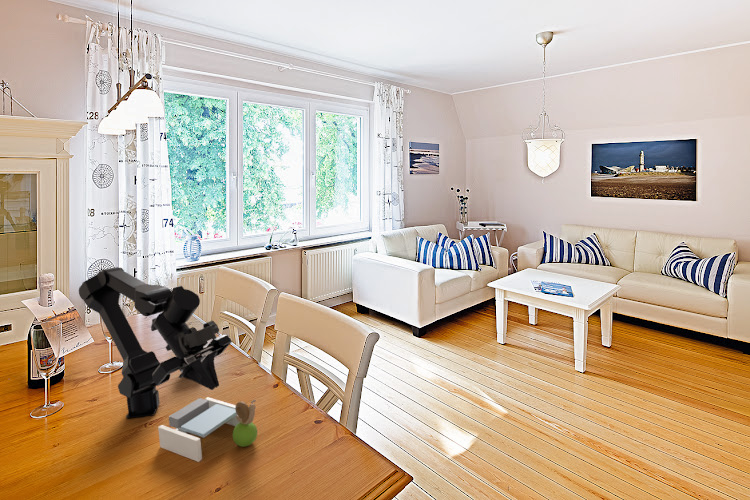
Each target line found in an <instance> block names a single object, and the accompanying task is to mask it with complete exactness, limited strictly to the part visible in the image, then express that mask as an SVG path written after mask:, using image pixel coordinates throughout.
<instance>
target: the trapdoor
mask: <svg viewBox="0 0 750 500" xmlns="http://www.w3.org/2000/svg"><path fill="white" fill-rule="evenodd" d="M236 415H237V413H236V410H235V409H232V408H229V407H226V406H222V405H219V404H215V405H214V406H212V407H211V408H209V401H208V400H205V398H201V397H198V398H197V399H195V400H194V401H192V402H190V403H189V404H187V405H186V406H183V407H182V408H180V409H179V410H177V411H175V412H174V413H172V414H170V415H169V416H168V422H169V424H168V426H169V427H171V428H173V429H176V428H177V429H180V428H181V430H183V431H186V433H190V434H191V435H195V436H198V437H199V438H200V437H201V438H205V437H207V436H209V435H210V434H212V433H213V432H214V431H216V430H217V429H219V428H220V427H221V426H223V425H224V424H227V423H226V422H227V421H228V420H230V419H231V418H233V417H234V416H236Z"/></svg>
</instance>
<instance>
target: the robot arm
mask: <svg viewBox="0 0 750 500" xmlns="http://www.w3.org/2000/svg"><path fill="white" fill-rule="evenodd" d="M81 283H82V284H81V285H80V286H79V288H78V295H79V297H80V299H82V301H83V302H84V303H85V305H86V307H87V308H88V309H91V310H92V311H94V312H96V313H98V314H99V315H100V318H101V320H102V321H103V323H104V326H105V327H106V329H107V331H108V333H109V336H110V337H111V339H112V341H113V343H114V344H115V346H116V349H117V351H118V352H119V355H120V356H121V359H122V360H123V363H122V369H121V375H122V378H121V380H120V382H119V384H118V385H117V388H118V391H119V394H120V395H122V396H124V397H126V404H127V405H126V406H127V412H128V413H127V414H126V416H125V418H126V419H134V418H141V417H148V416H149V417H150V416H154V415H155V414H156V411H157V409H158V408H159V407H160V395H159V390H158V389H157V388H156V387H158V386H161V385H163V384H164V383H166V382H168V381H169V380H170V378H171V374H172V373H175V372H177V371H179V372H180V374H179V376H178V378H179V379H182V378H185V379H187V380H190V381H192V382H194V383H196V384H198V385H201V386H203V387H205V388H207V389H209V390H211V391H212V390H215V389H216V388H218V387H219V386H220V383H219V379H218V375H217V371H216V367H215V358H216V357H218V356H220V355H221V354H223V353H224V351H225V350H226V349H227V348H228V347H229V346H230V345H231V344H232V342H233V341H232V339H231V338H230V336H229V335H227V334H221V335H218V336H217V335H216V334H218V333H219V332H220V328H219V326H218V324H217V323H216V322H215V321H214V320H209V321H207V322H206V323H203V326H202V327H203V328H201V329H199V330H197V329H196V328H195V327H194V326H192V327H190V326H188V324H187V322H188V321H189V320H190V318H191V317H192V316H193V315H194V313H195V311H196V310H197V309H198V308H199V305H200V304H201V299H200V297H199V295H198V294H197V293H195V292H194V291H192V290H190V289H186V288H184V287H183V285H179V286H178V285H177V286H175V287H173V289H172V290H171V289H170V288H168V287H167V286H163V285H159V284H148V283H146V282H144V281H142V280H140V279H139V278H137V277H135V276H133V275H132V274H130V273H128V272H126V271H125V270H124V269H123V268H122V267H118V266H116V267H110V268H104V269H102V270H101V271H98V273H97V274H96V275H94V276H91V277H90V278H88V279H87V280H84V281H83V282H81ZM121 294H122V295H123V296H124V297H126V298H128V299H129V300H131V301H132V302H134V309H135V310H136V311H138V313H140V314H141V315H142V316H144V317H146V318H147V317H150V316H154V315H157V314H158V315H157V317H155V318H152V319H151V326H150V331H152V332H155V331H157V332H158V333H159V334H160V336H161V337H162V338H163V340H164V341H165V343H166V346H165V349H166V351H167V352H169V351H172V354H174V355H175V356H173V357H170V358H168V359H166V360H164V361H162V362H160V361H159V359H158V358H157V355H156V353H155V352H154V351H152V350H151V351H149V352H148V351H146V350H144V349H143V348H142V345H141V343H140V342H139V340H138V338H137V336H136V334H135V332H134V331H133V330H134V329H133V328H132V326H131V325H130V323H129V321H128V318H127V317H126V315H125V313H124V312H123V310H122V308H121V306H120V303H119V302H120V297H121ZM208 341H210V342H208ZM208 343H209V344H208ZM205 346H206V347H205ZM203 347H204V348H203ZM199 354H200V355H199ZM197 355H199V356H197Z"/></svg>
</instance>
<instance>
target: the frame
mask: <svg viewBox="0 0 750 500" xmlns="http://www.w3.org/2000/svg"><path fill="white" fill-rule="evenodd" d="M204 400H208V401H209V408H211V407H212V406H214V405H215V404H219V405H222V406H226V407H229V408H232V409H235V407H236V404H233V403H229V402H226V401H222V400H219V399H217V398H216V399H215V398H212V397H208V396H207V397H206V398H204ZM239 423H240V422H239V421H238V420H237V418H236V416H234V417H233V418H231V419H230V420H228V421H227V422H226V423H225V424H227V425H230V426H233V427H236V425H237V424H239ZM157 429H158V438H159V447H160V448H162V449H164V450H167V451H170V452H172V453H175V454H177V455H180V456H182V457H185V458H188V459H190V460H192V461H195V462H197V463H198V462H201V461H202V460H203V453H202V443H201V438H200V437H199V436H198V437H197V436H196V435H195V436H194V435H193V434H188V433H187V432H186V431H183V430H181V428H180V429H177V428H173V427H170V426H166V425H163V424H161V425H159V426H158V427H157Z"/></svg>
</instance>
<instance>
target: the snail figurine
mask: <svg viewBox="0 0 750 500" xmlns="http://www.w3.org/2000/svg"><path fill="white" fill-rule="evenodd" d="M256 402H257V400H256V399H253V400H251V401H250V403H251V404H250V405H248V404H247V403H246V402H244V401H238V402H237V403H236V404H235V405H236V407H235V410H236V413H237V415H236V418H237V420H238V421H239V422H240V423H239V424H237V425H236V426H234V428H233V431H232V439H233V442H234V444H235V445H237V446H239V447H244V448H245V447H249V446H250V445H252V444H253V443H254V442H255V441H256V439H257V436H258V428H257V426H256V424H254V422H253V421H254V419H255V416H256V404H255V403H256Z"/></svg>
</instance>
